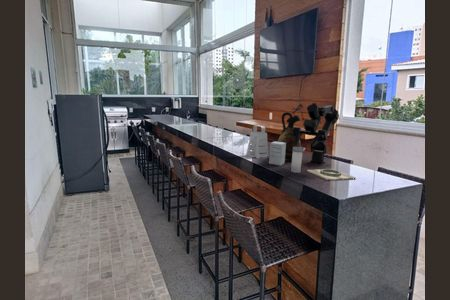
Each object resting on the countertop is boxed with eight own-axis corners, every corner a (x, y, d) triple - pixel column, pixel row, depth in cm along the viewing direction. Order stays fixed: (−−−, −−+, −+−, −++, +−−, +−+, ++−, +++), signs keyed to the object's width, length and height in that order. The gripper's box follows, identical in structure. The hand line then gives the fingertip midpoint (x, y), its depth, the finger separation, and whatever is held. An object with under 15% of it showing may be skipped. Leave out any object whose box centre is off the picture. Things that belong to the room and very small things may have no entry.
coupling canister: (297, 170, 149) (299, 146, 147) (302, 172, 144) (305, 148, 142) (288, 170, 148) (291, 146, 145) (293, 172, 143) (296, 148, 140)
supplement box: (273, 161, 167) (274, 141, 165) (284, 163, 164) (286, 142, 161) (268, 163, 161) (270, 142, 159) (280, 165, 157) (282, 144, 155)
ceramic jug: (302, 158, 180) (307, 112, 174) (295, 162, 167) (300, 113, 161) (277, 154, 188) (281, 111, 183) (269, 158, 175) (273, 111, 170)
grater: (257, 158, 175) (259, 127, 171) (246, 155, 183) (248, 125, 179) (268, 156, 182) (270, 126, 178) (257, 153, 189) (259, 124, 186)
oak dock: (333, 170, 152) (333, 166, 152) (355, 179, 137) (356, 175, 136) (306, 171, 148) (307, 167, 147) (326, 180, 132) (327, 176, 131)
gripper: (295, 112, 156) (284, 133, 150) (328, 115, 145) (318, 137, 139) (299, 125, 164) (289, 146, 158) (331, 129, 153) (322, 151, 146)
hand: (304, 145), depth 150 cm, fingers open, 9 cm apart
